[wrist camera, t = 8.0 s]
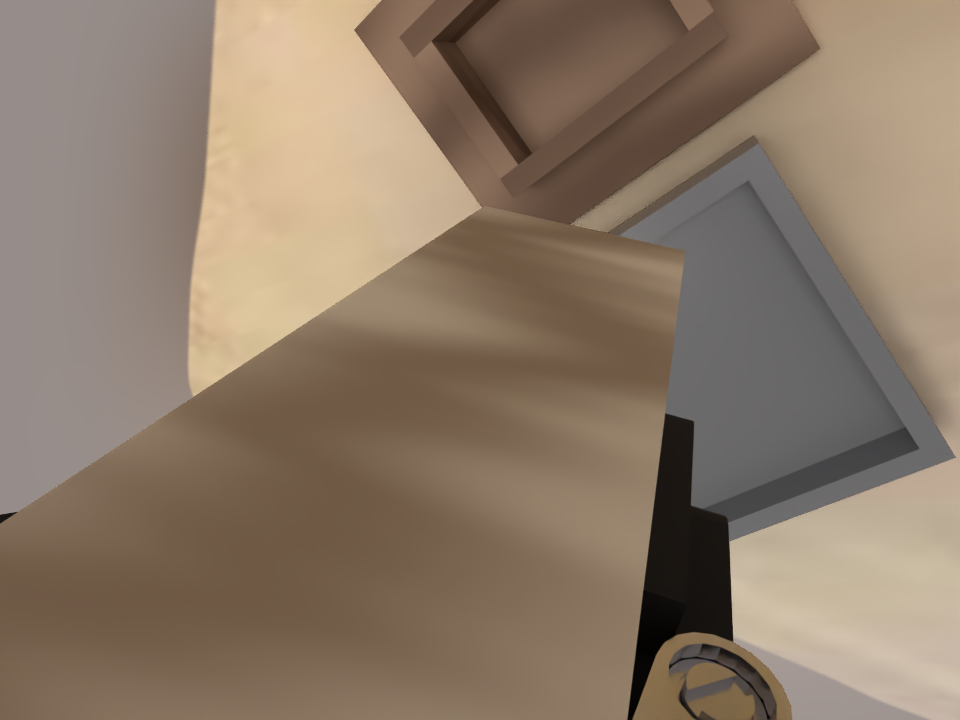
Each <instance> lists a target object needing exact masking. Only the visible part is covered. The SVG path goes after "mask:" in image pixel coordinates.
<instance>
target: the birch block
mask: <svg viewBox="0 0 960 720" xmlns="http://www.w3.org/2000/svg"><path fill="white" fill-rule="evenodd" d="M684 257H685V251H684V250H679V249H675V248H670V247H666V246H661V245H657V244H652V243H648V242H643V241H639V240H635V239H630V238H626V237H621V236H617V235H612V234H608V233H603V232H599V231H594V230H590V229H586V228H581V227H577V226H572V225H568V224H563V223H559V222H554V221H550V220H545V219H541V218H537V217H532V216H528V215H523V214H519V213H514V212H510V211H505V210H501V209H496V208H492V207H488V206H484V207H483V208H481V209H480V210H478V211H477V212H475V213H473V214H472V215H470V216H469V217H467V218H466V219H464V220H463V221H461V222H460V223H458V224H457V225H455V226H454V227H452V228H451V229H449V230H448V231H446V232H445V233H443V234H441V235H440V236H438V237H437V238H435V239H434V240H432V241H431V242H429V243H428V244H426V245H425V246H423V247H422V248H420V249H419V250H417V251H416V252H414V253H412V254H411V255H409V256H408V257H406V258H405V259H403V260H402V261H400V262H399V263H397V264H396V265H394V266H393V267H391V268H390V269H388V270H387V271H385V272H383V273H382V274H380V275H379V276H377V277H376V278H374V279H373V280H371V281H370V282H368V283H367V284H365V285H364V286H362V287H361V288H359V289H358V290H356V291H354V292H353V293H351V294H350V295H348V296H347V297H345V298H344V299H342V300H341V301H339V302H338V303H336V304H335V305H333V306H332V307H330V308H329V309H327V310H326V311H324V312H322V313H321V314H319V315H318V316H316V317H315V318H313V319H312V320H310V321H309V322H307V323H306V324H304V325H303V326H301V327H300V328H298V329H297V330H295V331H293V332H292V333H290V334H289V335H287V336H286V337H284V338H283V339H281V340H280V341H278V342H277V343H275V344H274V345H272V346H271V347H269V348H268V349H266V350H264V351H263V352H261V353H260V354H258V355H257V356H255V357H254V358H252V359H251V360H249V361H248V362H246V363H245V364H243V365H242V366H240V367H239V368H237V369H236V370H234V371H232V372H231V373H229V374H228V375H226V376H225V377H223V378H222V379H220V380H219V381H217V382H216V383H214V384H213V385H211V386H210V387H208V388H207V389H205V390H203V391H202V392H200V393H199V394H197V395H196V396H194V397H193V398H191V399H190V400H188V401H187V402H185V403H184V404H182V405H181V406H179V407H178V408H176V409H174V410H173V411H172V412H170V413H168V414H167V415H165V416H164V417H162V418H161V419H159V420H158V421H157V422H155V423H153V424H152V425H150V426H149V427H147V428H146V429H144V430H142V431H141V432H140V433H138V434H136V435H135V436H133V437H132V438H130V439H129V440H127V441H126V442H124V443H123V444H121V445H120V446H118V447H117V448H115V449H114V450H112V451H110V452H109V453H108V454H106V455H104V456H103V457H101V458H100V459H98V460H97V461H95V462H94V463H92V464H91V465H89V466H88V467H86V468H85V469H83V470H81V471H80V472H78V473H77V474H76V475H74V476H72V477H71V478H69V479H68V480H66V481H65V482H63V483H62V484H60V485H59V486H57V487H55V488H54V489H52V490H51V491H50V492H48V493H46V494H45V495H43V496H42V497H40V498H39V499H37V500H36V501H34V502H33V503H31V504H30V505H28V506H27V507H25V508H24V509H22V510H20V511H19V512H17V513H16V514H14V515H13V516H11V517H10V518H8V519H7V520H5V521H4V522H2V523H1V524H0V720H627V718H628V710H629V702H630V693H631V685H632V677H633V669H634V661H635V653H636V645H637V637H638V629H639V621H640V613H641V604H642V596H643V588H644V580H645V572H646V564H647V556H648V548H649V540H650V532H651V524H652V516H653V507H654V499H655V491H656V483H657V475H658V467H659V459H660V451H661V443H662V435H663V427H664V419H665V410H666V402H667V394H668V386H669V378H670V370H671V362H672V354H673V346H674V338H675V330H676V322H677V313H678V305H679V297H680V289H681V281H682V273H683V265H684Z"/></svg>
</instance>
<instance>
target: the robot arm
mask: <svg viewBox="0 0 960 720" xmlns="http://www.w3.org/2000/svg"><path fill="white" fill-rule="evenodd" d="M693 444H694V421H692V420H688V419H685V418H681V417H677V416H674V415H670V414H666V413H665V419H664V427H663V435H662V443H661V451H660V459H659V467H658V475H657V483H656V491H655V499H654V507H653V516H652V524H651V532H650V540H649V548H648V556H647V564H646V572H645V580H644V588H643V596H642V604H641V613H640V621H639V629H638V637H637V645H636V653H635V661H634V669H633V677H632V685H631V693H630V702H629V710H628V718H627V720H792V713H791V705H790V703H789V700H788V698H787V696H786V693H785V691H784V689H783V687H782V685H781V684H780V683H779V681H778V680H777V679H776V677H775V676H774V674H773V673H772V672H771V671H770V669H769V668H767V666H766V665H764V664H763V663H762V662H761V661H760V660H759V659H758V658H757V657H755V656H754V655H753V654H752V653H750V652H749V651H747V650H746V649H744V648H742V647H740V646H739V645H737V644H736V643H734V642H733V625H732V600H731V575H730V550H729V525H728V519H727V517H726V516H724V515H721V514H718V513H714V512H711V511H708V510H704V509H701V508H698V507H694V506H691V491H692V467H693ZM16 513H17V512H14V513H8V514H2V515H0V524H1V523H2V522H4V521H5V520H7V519H8V518H10V517H11V516H13V515H14V514H16Z"/></svg>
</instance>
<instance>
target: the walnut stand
mask: <svg viewBox="0 0 960 720" xmlns="http://www.w3.org/2000/svg"><path fill="white" fill-rule="evenodd" d="M355 32H356V33H357V34H358V36H359V37H360V39H361V40H362V41H363V43H364V44H365V45H366V47H367V48H368V50H369V51H370V52H371V54H372V55H373V57H374V58H375V59H376V61H377V62H378V64H379V65H380V66H381V68H382V69H383V70H384V72H385V73H386V75H387V76H388V77H389V79H390V80H391V82H392V83H393V84H394V86H395V87H396V88H397V90H398V91H399V93H400V94H401V95H402V97H403V98H404V100H405V101H406V102H407V104H408V105H409V107H410V108H411V109H412V111H413V112H414V113H415V115H416V116H417V118H418V119H419V120H420V122H421V123H422V125H423V126H424V127H425V129H426V130H427V131H428V133H429V134H430V136H431V137H432V138H433V140H434V141H435V143H436V144H437V145H438V147H439V148H440V150H441V151H442V152H443V154H444V155H445V156H446V158H447V159H448V161H449V162H450V163H451V165H452V166H453V168H454V169H455V170H456V172H457V173H458V175H459V176H460V177H461V179H462V180H463V181H464V183H465V184H466V186H467V187H468V188H469V190H470V191H471V193H472V194H473V195H474V197H475V198H476V199H477V201H478V202H479V204H480V205H481V206H482V208H483V207H484V206H488V207H492V208H496V209H501V210H505V211H510V212H514V213H519V214H523V215H528V216H532V217H537V218H541V219H545V220H550V221H554V222H559V223H563V224H570V223H571V222H573V221H574V220H575V219H577V218H578V217H580V216H581V215H583V214H584V213H585V212H587V211H588V210H590V209H591V208H593V207H594V206H595V205H597V204H598V203H600V202H601V201H603V200H604V199H605V198H607V197H608V196H610V195H611V194H613V193H614V192H615V191H617V190H618V189H620V188H621V187H623V186H624V185H626V184H627V183H628V182H630V181H631V180H633V179H634V178H636V177H637V176H638V175H640V174H641V173H643V172H644V171H646V170H647V169H648V168H650V167H651V166H653V165H654V164H656V163H657V162H658V161H660V160H661V159H663V158H664V157H666V156H667V155H668V154H670V153H671V152H673V151H674V150H676V149H677V148H679V147H680V146H681V145H683V144H684V143H686V142H687V141H689V140H690V139H691V138H693V137H694V136H696V135H697V134H699V133H700V132H701V131H703V130H704V129H706V128H707V127H709V126H710V125H711V124H713V123H714V122H716V121H717V120H719V119H720V118H721V117H723V116H724V115H726V114H727V113H729V112H730V111H732V110H733V109H734V108H736V107H737V106H739V105H740V104H742V103H743V102H744V101H746V100H747V99H749V98H750V97H752V96H753V95H754V94H756V93H757V92H759V91H760V90H762V89H763V88H764V87H766V86H767V85H769V84H770V83H772V82H773V81H775V80H776V79H777V78H779V77H780V76H782V75H783V74H785V73H786V72H787V71H789V70H790V69H792V68H793V67H795V66H796V65H797V64H799V63H800V62H802V61H803V60H805V59H806V58H807V57H809V56H810V55H812V54H813V53H815V52H816V51H817V50H819V49H820V47H819V45H818V44H817V42H816V40H815V39H814V37H813V35H812V34H811V32H810V30H809V29H808V27H807V25H806V24H805V22H804V20H803V18H802V17H801V15H800V13H799V12H798V10H797V8H796V7H795V5H794V3H793V2H792V0H382V1H381V2H380V3H379V4H378V5H377V6H376V7H375V8H374V9H373V10H372V11H371V12H370V14H369V15H368V16H367V17H366V18H365V19H364V20H363V21H362V22H361V23H360V24H359V25H358V26H357V27H356V28H355Z"/></svg>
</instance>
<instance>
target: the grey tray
mask: <svg viewBox="0 0 960 720" xmlns="http://www.w3.org/2000/svg"><path fill="white" fill-rule="evenodd" d="M608 234H612V235H617V236H621V237H626V238H630V239H635V240H639V241H643V242H648V243H652V244H657V245H661V246H666V247H670V248H675V249H679V250H684V251H685V257H684V265H683V273H682V281H681V289H680V297H679V305H678V313H677V322H676V330H675V338H674V346H673V354H672V362H671V370H670V378H669V386H668V394H667V402H666V410H665V413H666V414H670V415H674V416H677V417H681V418H685V419H688V420H692V421H694V444H693V467H692V491H691V506H694V507H698V508H701V509H704V510H708V511H711V512H714V513H718V514H721V515H724V516H726V517H727V519H728V525H729V541H731V540H734V539H737V538H739V537H742V536H745V535H747V534H750V533H753V532H756V531H758V530H761V529H764V528H766V527H769V526H772V525H774V524H777V523H780V522H783V521H785V520H788V519H791V518H793V517H796V516H799V515H801V514H804V513H807V512H810V511H812V510H815V509H818V508H820V507H823V506H826V505H829V504H831V503H834V502H837V501H839V500H842V499H845V498H847V497H850V496H853V495H856V494H858V493H861V492H864V491H866V490H869V489H872V488H874V487H877V486H880V485H883V484H885V483H888V482H891V481H893V480H896V479H899V478H902V477H904V476H907V475H910V474H912V473H915V472H918V471H920V470H923V469H926V468H929V467H931V466H934V465H937V464H939V463H942V462H945V461H947V460H950V459H953V458H956V457H955V455H954V454H953V452H952V450H951V449H950V447H949V446H948V444H947V442H946V441H945V439H944V438H943V436H942V434H941V433H940V431H939V430H938V428H937V426H936V425H935V423H934V422H933V420H932V418H931V417H930V415H929V414H928V412H927V410H926V409H925V407H924V406H923V404H922V402H921V401H920V399H919V398H918V396H917V394H916V393H915V391H914V390H913V388H912V387H911V385H910V383H909V382H908V380H907V379H906V377H905V375H904V374H903V372H902V371H901V369H900V367H899V366H898V364H897V363H896V361H895V359H894V358H893V356H892V355H891V353H890V351H889V350H888V348H887V347H886V345H885V343H884V342H883V340H882V339H881V337H880V335H879V334H878V332H877V331H876V329H875V327H874V326H873V324H872V323H871V321H870V319H869V318H868V316H867V315H866V313H865V312H864V310H863V308H862V307H861V305H860V304H859V302H858V300H857V299H856V297H855V296H854V294H853V292H852V291H851V289H850V288H849V286H848V284H847V283H846V281H845V280H844V278H843V276H842V275H841V273H840V272H839V270H838V268H837V267H836V265H835V264H834V262H833V260H832V259H831V257H830V256H829V254H828V252H827V251H826V249H825V248H824V246H823V244H822V243H821V241H820V240H819V238H818V237H817V235H816V233H815V232H814V230H813V229H812V227H811V225H810V224H809V222H808V221H807V219H806V217H805V216H804V214H803V213H802V211H801V209H800V208H799V206H798V205H797V203H796V201H795V200H794V198H793V197H792V195H791V193H790V192H789V190H788V189H787V187H786V185H785V184H784V182H783V181H782V179H781V177H780V176H779V174H778V173H777V171H776V170H775V168H774V166H773V165H772V163H771V162H770V160H769V158H768V157H767V155H766V154H765V152H764V150H763V149H762V147H761V146H760V144H759V142H758V141H757V140H756V138H755V137H754V136H752V137H751V138H749V139H748V140H746V141H745V142H743V143H742V144H740V145H739V146H737V147H736V148H734V149H733V150H731V151H730V152H728V153H727V154H725V155H724V156H722V157H721V158H719V159H718V160H716V161H715V162H713V163H712V164H710V165H709V166H707V167H706V168H704V169H703V170H701V171H700V172H698V173H697V174H695V175H694V176H692V177H691V178H689V179H688V180H686V181H685V182H683V183H682V184H680V185H679V186H677V187H676V188H674V189H673V190H671V191H670V192H668V193H667V194H665V195H664V196H662V197H661V198H659V199H658V200H656V201H655V202H653V203H652V204H650V205H649V206H647V207H646V208H644V209H643V210H641V211H640V212H638V213H637V214H635V215H634V216H632V217H631V218H629V219H628V220H626V221H625V222H623V223H622V224H620V225H619V226H617V227H616V228H614V229H613V230H611V231H610V232H608Z"/></svg>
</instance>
